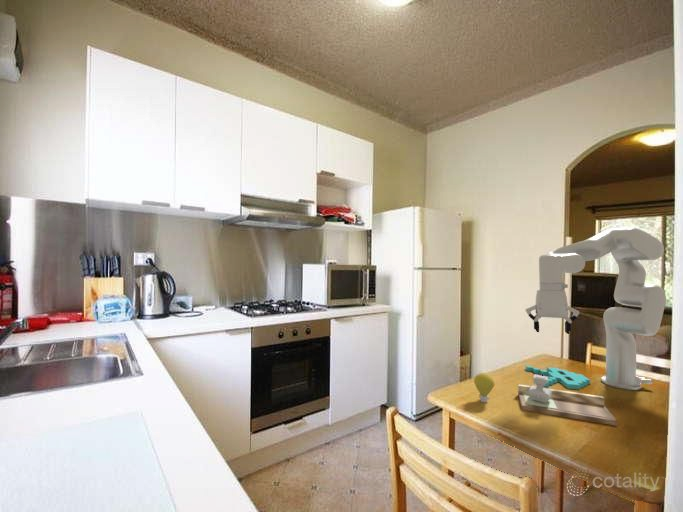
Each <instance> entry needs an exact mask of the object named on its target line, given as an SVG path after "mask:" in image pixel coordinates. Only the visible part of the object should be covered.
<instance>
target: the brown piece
mask: <svg viewBox="0 0 683 512" xmlns="http://www.w3.org/2000/svg"><path fill="white" fill-rule="evenodd" d="M531 386H532V385H528V384H527V385H526V384H519V383H518V385H517V395H518V399H519V400H518V401H519V404H520V407H521V410H522V411H528V412H533V413H534V412H535V413H539V414H544V415H545V414H546V415H552V416H557V417H563V418H569V419H576V420H581V421H587V422H593V423H598V424H605V425H611V426H616V427H617V426H618V420H617V419H616V418H615V417H614V415H613V414H612V413H611V412H610V410H609V409H608V408H607V407H606V406H605V397H604V396H603V395H596V394H588V393H581V392H575V391H569V390H568V391H567V390H559V389H555V388H550V389H551V391H552V394H551V397H552V399H553V401H554V403H555V405H556V407H557V409H554V408H548V407H542V406H536V405H529V404H526V401H525V397H524V394H523V393H527V394H528V391H529V389H530V387H531Z"/></svg>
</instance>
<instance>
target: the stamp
mask: <svg viewBox="0 0 683 512" xmlns="http://www.w3.org/2000/svg"><path fill="white" fill-rule="evenodd" d="M532 379H533V380H532V381H533V384H532V385H530V386H531V387H530V389H529V391H528V395H529V396H530V398H531V399H532V400H535V401H539V402H543V403H546V402H547V401H548V400H549V399H550V397H551V394H552V391H551V389H552V388H549V387H543V385H544V386H545V384H547V380H548V376H542V375H541V374H537V373H534V375H533V378H532ZM534 384H536V385H534Z"/></svg>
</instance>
